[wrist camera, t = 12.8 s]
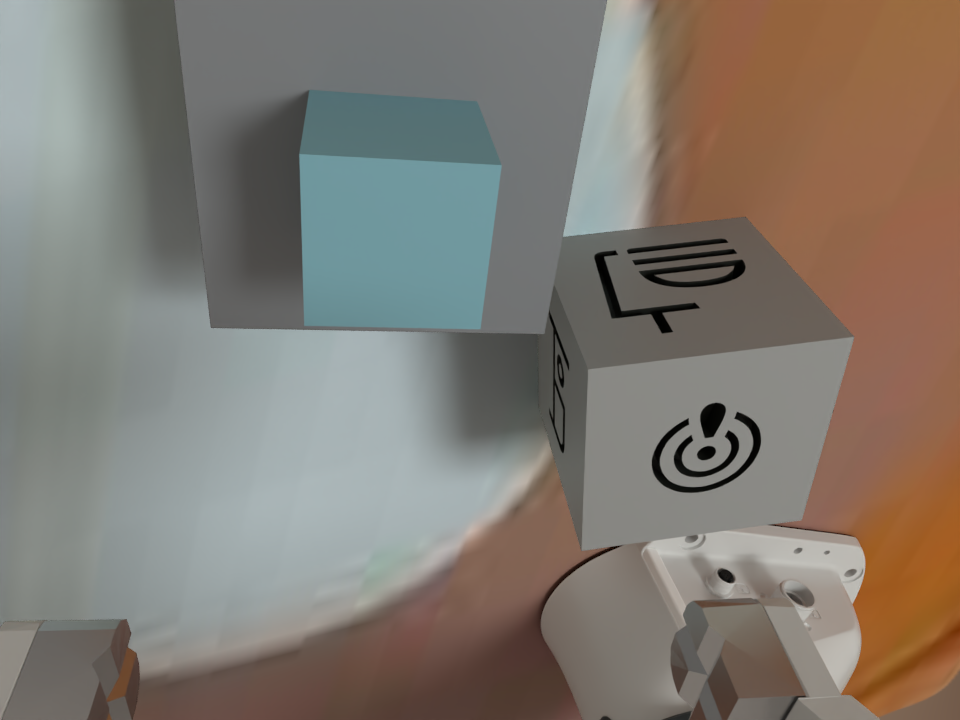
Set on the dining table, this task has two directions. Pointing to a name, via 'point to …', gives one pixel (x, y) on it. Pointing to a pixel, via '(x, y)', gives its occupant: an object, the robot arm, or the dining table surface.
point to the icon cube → (685, 382)
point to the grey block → (383, 71)
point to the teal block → (396, 211)
